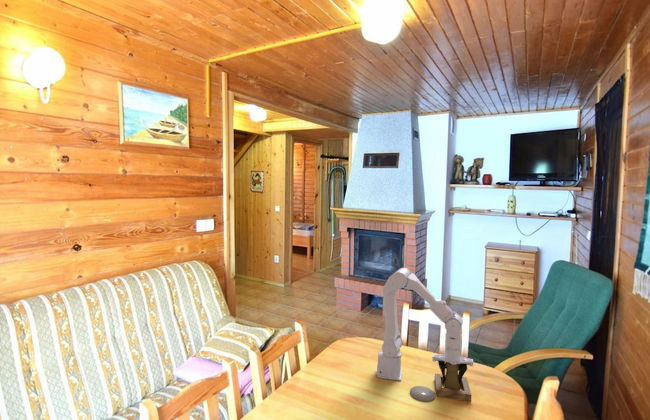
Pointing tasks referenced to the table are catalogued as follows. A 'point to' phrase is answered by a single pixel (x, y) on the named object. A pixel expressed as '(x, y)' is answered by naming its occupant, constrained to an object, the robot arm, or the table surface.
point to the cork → (452, 376)
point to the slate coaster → (422, 393)
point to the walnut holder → (452, 393)
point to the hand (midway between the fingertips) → (451, 381)
